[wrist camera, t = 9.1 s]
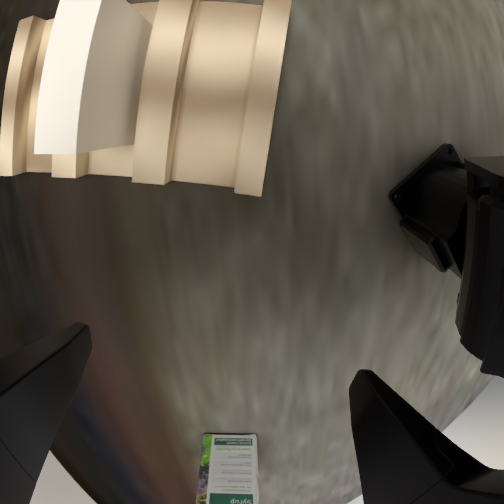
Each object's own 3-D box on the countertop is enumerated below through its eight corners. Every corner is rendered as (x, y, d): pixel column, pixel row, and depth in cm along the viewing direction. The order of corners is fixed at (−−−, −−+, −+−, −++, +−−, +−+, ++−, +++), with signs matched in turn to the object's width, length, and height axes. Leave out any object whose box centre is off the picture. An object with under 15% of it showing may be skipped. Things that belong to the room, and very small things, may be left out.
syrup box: (257, 432, 28) (259, 555, 15) (258, 457, 30) (260, 562, 17) (203, 432, 28) (189, 552, 15) (210, 457, 30) (201, 560, 17)
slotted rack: (35, 25, 13) (19, 20, 11) (287, 12, 14) (291, -1, 12) (17, 170, 18) (-1, 175, 16) (260, 189, 19) (261, 196, 17)
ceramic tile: (152, 26, 14) (107, -17, 8) (133, 144, 17) (75, 154, 11) (117, 28, 14) (62, -7, 8) (99, 143, 17) (34, 154, 10)
